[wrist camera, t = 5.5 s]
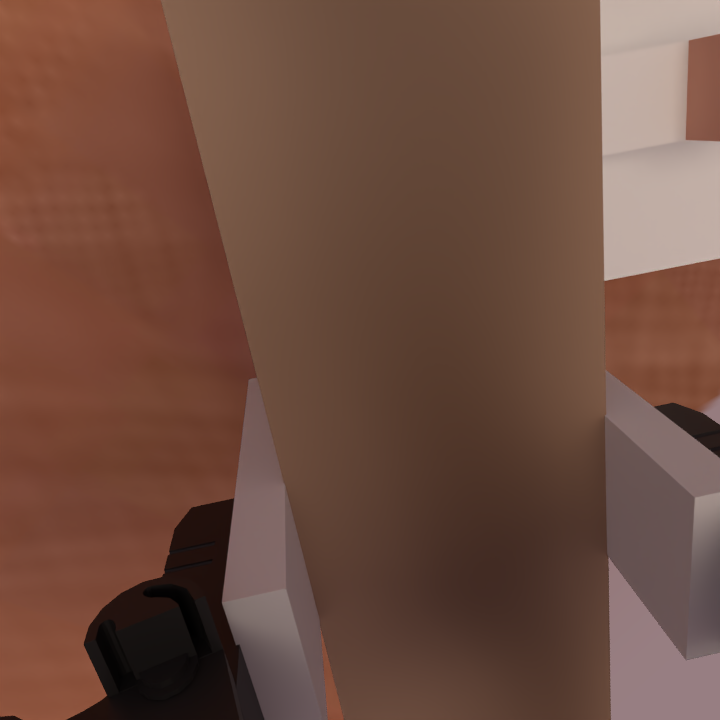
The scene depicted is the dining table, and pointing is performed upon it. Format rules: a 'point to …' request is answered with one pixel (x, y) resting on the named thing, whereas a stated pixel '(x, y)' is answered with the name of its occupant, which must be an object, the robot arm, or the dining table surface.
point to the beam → (424, 330)
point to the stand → (660, 134)
